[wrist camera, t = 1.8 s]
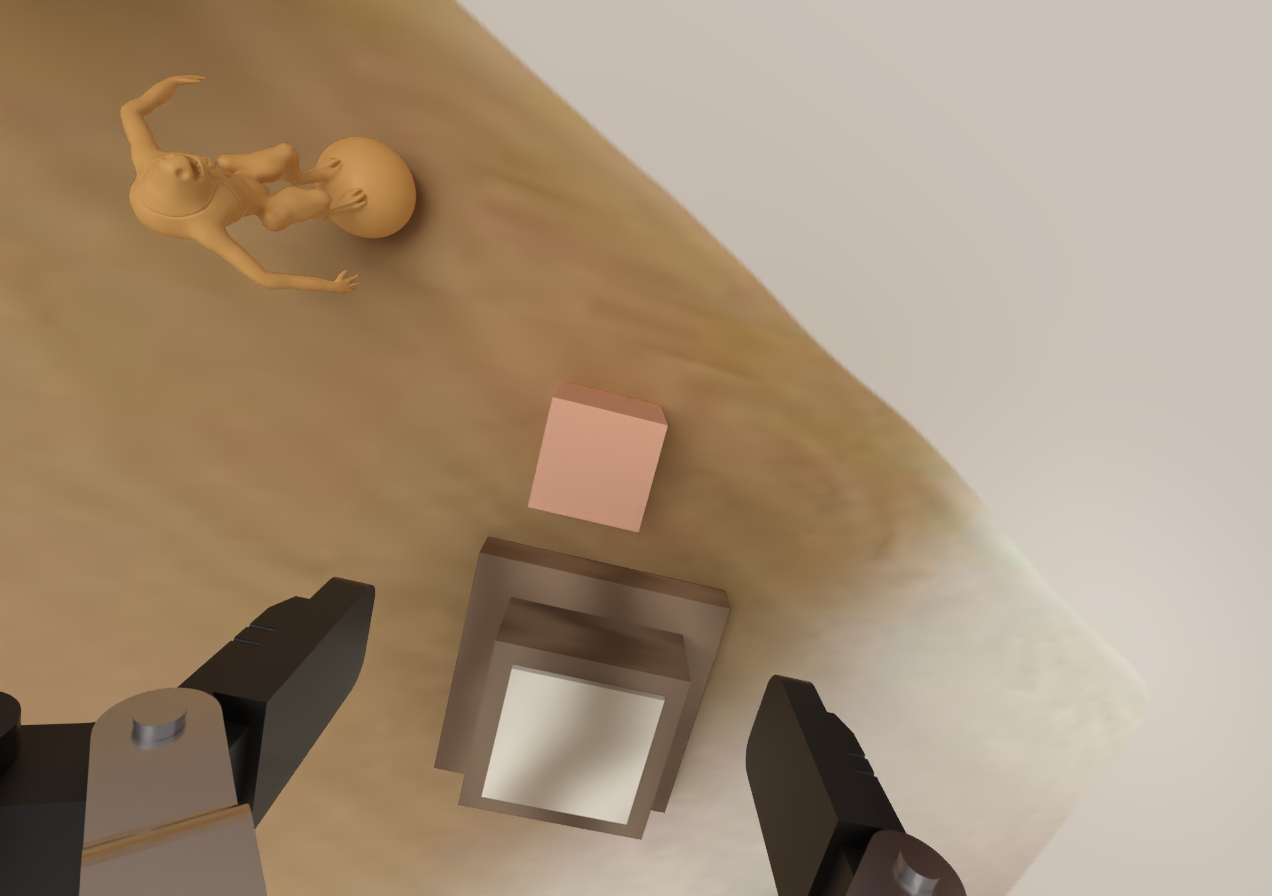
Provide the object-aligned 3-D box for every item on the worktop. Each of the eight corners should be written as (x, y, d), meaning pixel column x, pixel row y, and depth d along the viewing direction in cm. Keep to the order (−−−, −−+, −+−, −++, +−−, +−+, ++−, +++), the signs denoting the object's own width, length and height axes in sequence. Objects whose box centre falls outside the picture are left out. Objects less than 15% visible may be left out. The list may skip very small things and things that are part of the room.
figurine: (474, 249, 29) (374, 217, 17) (375, 323, 29) (213, 341, 18) (357, 85, 27) (155, -75, 15) (254, 168, 28) (-14, 76, 16)
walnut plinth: (444, 741, 35) (406, 835, 29) (488, 536, 32) (456, 593, 26) (662, 785, 36) (670, 884, 30) (724, 590, 33) (747, 657, 27)
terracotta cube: (541, 474, 31) (527, 507, 27) (563, 380, 30) (552, 397, 25) (635, 496, 32) (638, 532, 27) (660, 404, 31) (668, 425, 26)
